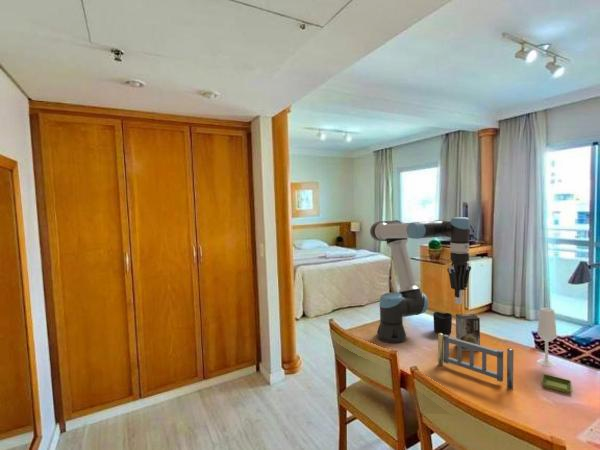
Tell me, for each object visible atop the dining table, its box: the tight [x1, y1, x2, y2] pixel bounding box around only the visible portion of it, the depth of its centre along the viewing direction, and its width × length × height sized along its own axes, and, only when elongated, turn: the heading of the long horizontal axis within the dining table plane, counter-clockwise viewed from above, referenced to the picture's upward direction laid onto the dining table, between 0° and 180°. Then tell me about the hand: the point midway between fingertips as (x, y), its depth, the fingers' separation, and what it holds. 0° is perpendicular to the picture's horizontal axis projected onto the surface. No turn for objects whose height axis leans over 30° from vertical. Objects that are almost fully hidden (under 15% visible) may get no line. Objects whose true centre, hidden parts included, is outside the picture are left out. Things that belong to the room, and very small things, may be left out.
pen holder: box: [432, 311, 453, 336], centre depth 179 cm, size 9×9×10 cm
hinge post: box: [506, 348, 514, 390], centre depth 124 cm, size 2×2×15 cm
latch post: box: [437, 333, 444, 367], centre depth 143 cm, size 2×2×14 cm
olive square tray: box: [541, 373, 572, 394], centre depth 125 cm, size 9×9×2 cm
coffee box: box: [455, 313, 481, 352], centre depth 158 cm, size 9×6×16 cm
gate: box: [443, 334, 504, 383], centre depth 134 cm, size 23×2×12 cm, turn 42°
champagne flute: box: [536, 307, 557, 368], centre depth 141 cm, size 7×7×24 cm
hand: (458, 303), depth 146 cm, fingers closed
